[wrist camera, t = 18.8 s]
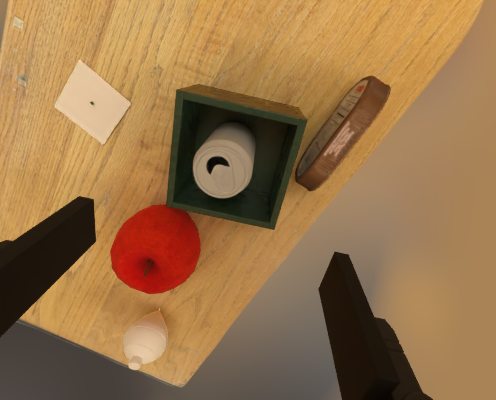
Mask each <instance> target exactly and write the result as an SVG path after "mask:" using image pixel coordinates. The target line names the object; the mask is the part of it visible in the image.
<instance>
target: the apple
mask: <svg viewBox="0 0 496 400" xmlns="http://www.w3.org/2000/svg"><path fill="white" fill-rule="evenodd" d="M200 251H201V246H200V238H199V233H198V229H197V227H196V225H195V223H194V221H193V220H192V219H191V217H190V216H189V215H188V214H187V213H186V212H185V211H184V210H181V209H176V208H173V207H167V206H166V205H152V206H150V207H147V208H145V209H143V210H141V211H139V212H137V213H136V214H135V215H133V216H132V217H131V218H129V219H128V220H127V221H126V222H125V223H124V224H123V225H122V227H121V228H120V230H119V232H118V233H117V235H116V238H115V240H114V242H113V245H112V247H111V251H110V253H111V261H112V269H113V270H114V272H115V274H116V275H117V277H118V278H119V279H120V280H121V281H123V282H124V283H125V284H127V285H128V286H129V287H131V288H133V289H136V290H139V291H142V292H145V293H147V294H156V293H163V292H166V291H169V290H171V289H174V288H176V287H177V286H179V285H181V284H182V283H184V282H185V281H186V280H187V279H188V277H189V276H190V275H191V274H192V273H193V272H194V270H195V267H196V264H197V261H198V258H199V255H200Z"/></svg>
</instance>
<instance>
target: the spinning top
mask: <svg viewBox="0 0 496 400" xmlns="http://www.w3.org/2000/svg"><path fill="white" fill-rule="evenodd" d="M160 310H161V308H159V309H158V311H155V312H152V313H149V314H147V315H145V316H143V317H141V318H139V319H138V320H136V321H135V322H134V323H132V324H131V325H130V326H129V327H128V329H127V330H126V331H125V333H124V336H123V340H122V345H123V350H124V354H125V356H126V357H127V358H128V359H129V360H130V362H129V364H128V366H129V368H131V369H133V370H138V369H139V368H140V366H141V364H149V363H151V362H152V361H154V360H156V359H158V358H159V357H160V356H161V355H162V354H163V352H164V351H165V349H166V347H167V343H168V333H167V327H166V324H165V321H164V318H163V316H162V314H161V313H160Z"/></svg>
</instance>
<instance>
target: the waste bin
mask: <svg viewBox="0 0 496 400" xmlns="http://www.w3.org/2000/svg"><path fill="white" fill-rule="evenodd" d="M226 122H238V123H241V124H243V125H245V126H247V127H248V128H249V129H250V130H251V132H252V133H253V135H254V137H255V141H256V151H255V157H254V164H253V171H252V176H251V179H250V182H249V183H248V185H247V186H246V187H245V188H244V189H243V190H242V191H241V192H239V193H238V194H236V195H235V196H232V197H229V198H216V197H213V196H210V195H208V194H207V193H205V192H204V191H203V190H202V189H201V188H200V187H199V186H198V184H197V183H196V181H195V178H194V172H193V160H194V157H195V155H196V153H197V151H198V150H199V149H200V147H201V146H202V145H203V144H204V142H205V141H206V140H207V139H208V138H209V136H210V135H211V134H212V133H213V132H214V130H215V129H216V128H217V127H218V126H220V125H221V124H223V123H226ZM306 123H307V119H306V118H305V116H304V115H303V113H302V112H301V111H300V109H299V108H298V107H294V106H290V105H286V104H281V103H277V102H273V101H268V100H264V99H260V98H256V97H251V96H247V95H243V94H239V93H234V92H230V91H226V90H221V89H217V88H213V87H209V86H204V85H200V84H197V85H194V86H189V87H185V88H181V89H177V90H176V100H175V111H174V123H173V134H172V145H171V157H170V168H169V179H168V191H167V202H166V206H167V207H173V208H176V209H181V210H185V211H190V212H194V213H199V214H204V215H208V216H213V217H217V218H222V219H226V220H231V221H236V222H240V223H245V224H249V225H254V226H259V227H263V228H268V229H272V230H274V229H275V226H276V222H277V219H278V216H279V212H280V209H281V206H282V202H283V199H284V196H285V193H286V189H287V186H288V183H289V179H290V176H291V173H292V169H293V166H294V163H295V159H296V156H297V153H298V150H299V146H300V143H301V140H302V136H303V133H304V130H305V126H306Z"/></svg>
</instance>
